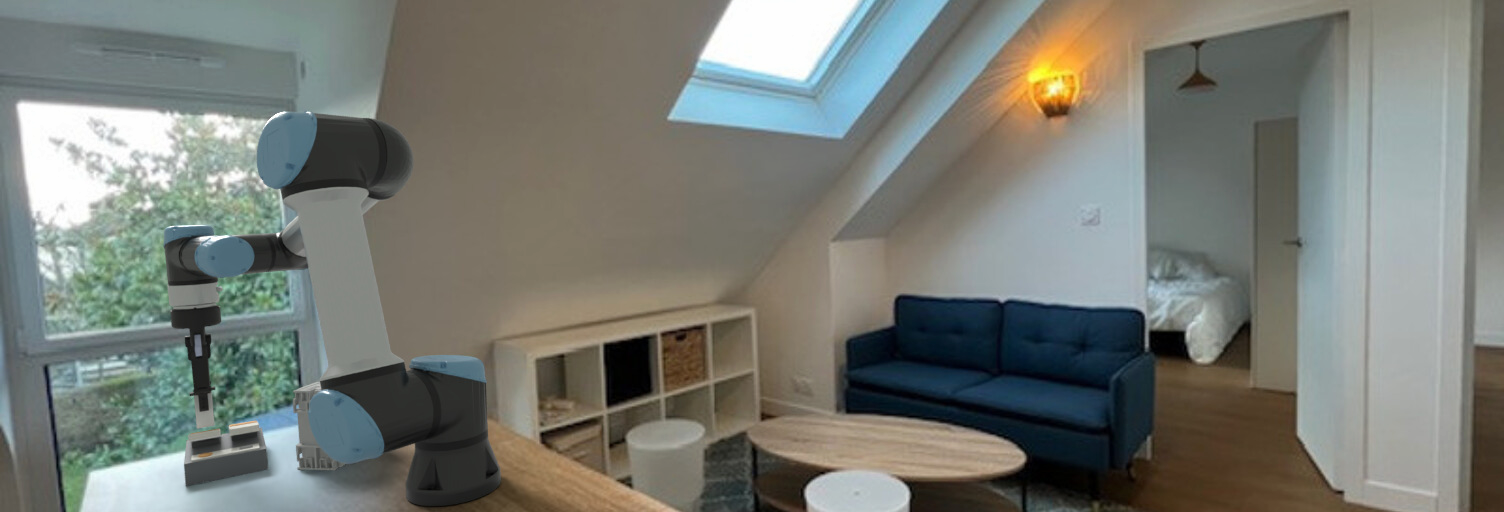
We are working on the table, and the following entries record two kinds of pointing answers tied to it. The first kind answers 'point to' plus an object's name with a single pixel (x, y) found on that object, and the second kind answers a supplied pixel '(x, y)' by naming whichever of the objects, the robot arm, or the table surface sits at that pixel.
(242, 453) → the switch unit
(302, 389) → the circuit breaker
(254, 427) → the rocker right
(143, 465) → the table surface
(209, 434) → the rocker left
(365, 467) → the table surface
